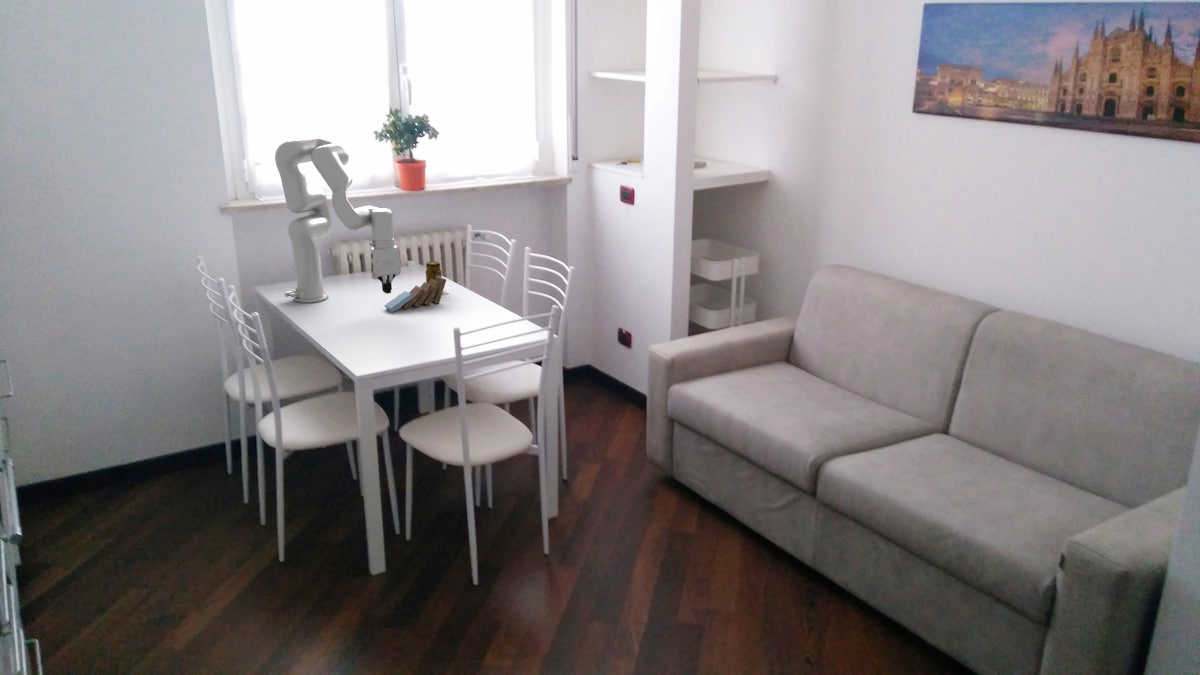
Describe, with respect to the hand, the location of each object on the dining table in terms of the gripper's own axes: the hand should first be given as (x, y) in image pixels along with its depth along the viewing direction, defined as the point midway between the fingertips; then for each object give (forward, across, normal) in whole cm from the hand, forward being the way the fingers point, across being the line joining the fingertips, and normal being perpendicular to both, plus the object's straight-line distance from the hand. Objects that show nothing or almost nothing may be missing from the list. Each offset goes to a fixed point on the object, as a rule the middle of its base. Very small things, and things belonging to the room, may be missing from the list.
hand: (387, 292), depth 335 cm
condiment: (+7, +25, +11) cm, 28 cm away
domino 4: (+7, +14, 0) cm, 16 cm away
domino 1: (+6, 0, 0) cm, 6 cm away
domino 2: (+6, +6, 0) cm, 9 cm away
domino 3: (+6, +10, 0) cm, 12 cm away
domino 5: (+7, +19, 0) cm, 20 cm away
